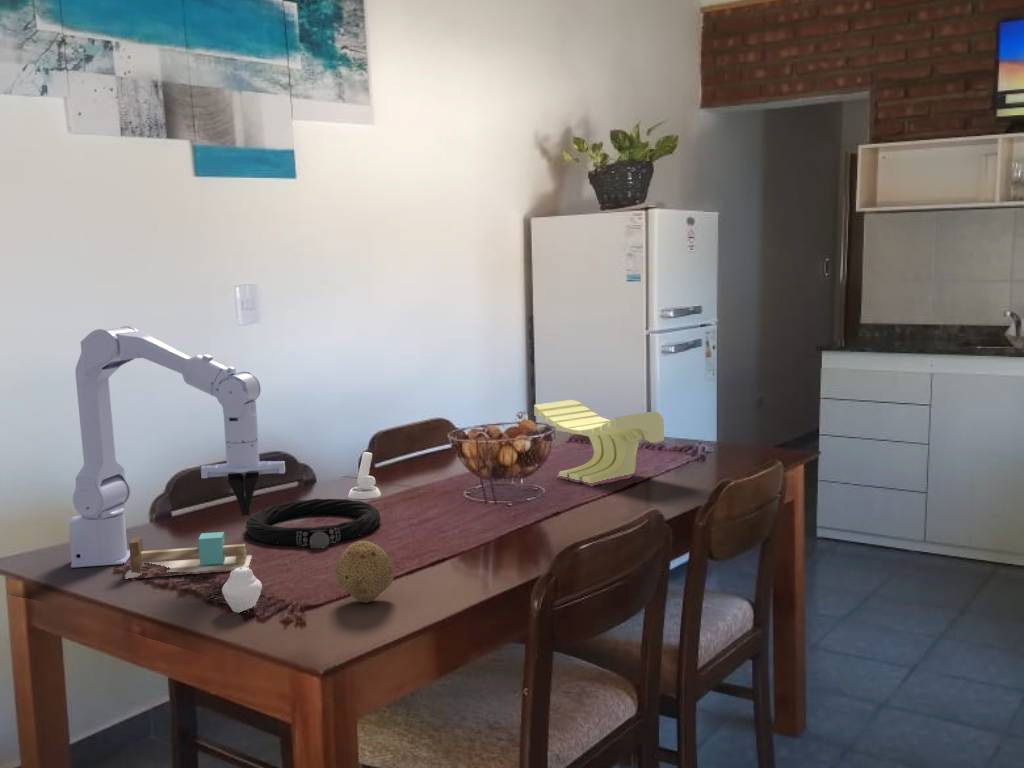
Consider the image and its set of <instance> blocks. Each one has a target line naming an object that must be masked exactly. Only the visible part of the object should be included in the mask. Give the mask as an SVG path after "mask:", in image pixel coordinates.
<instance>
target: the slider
mask: <svg viewBox="0 0 1024 768" xmlns="http://www.w3.org/2000/svg"><path fill="white" fill-rule="evenodd" d="M197 541H198V547H199V556H200V557H199V559H200V565H209V564H222V563H224V560H225V558H226V557H227V555H223V545H226V544H225V531H218V532H205V533H203V532H201V534H199V537H198V540H197Z"/></svg>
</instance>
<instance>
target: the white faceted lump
mask: <svg viewBox="0 0 1024 768" xmlns="http://www.w3.org/2000/svg"><path fill="white" fill-rule="evenodd" d="M256 577H257V576H255V575H254V572H253V570H252V569H251V568H250V567H249V568H247V567H239V568H236V569H234V570H232V571H231V572H229V577H228V579H227V581H225V583H224V584H223V586H222V588H221V593H222V595H223V596H224V599H225V601H226V602H227V604H228V606H229V607H230V608H231V610H232V611H233V612H234V613H237V614H238V613H239V614H241V613H240V612H242V611H244V610H247V609H249V608H252V607H253V606H255V607H256V605H257V602H258V601H259V598H260V596H261V592H262V590H263V585H262V581H260V580H259V579H258V578H256Z"/></svg>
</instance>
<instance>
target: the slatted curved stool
mask: <svg viewBox="0 0 1024 768" xmlns="http://www.w3.org/2000/svg"><path fill="white" fill-rule="evenodd" d="M533 411H534V412H533V413H534V414H533V415H534V417H541V418H540V420H541V421H542V422H548V427H549V426H550V427H555V431H557V432H563V433H568V434H573V435H574V434H575V435H580V436H583V437H584V436H585V437H588V438H589V440H590V442H591V445H592V448H593V456H592V458H591V459H590V460H589V461H587V462H586V463H584V464H581V465H579V466H577V467H572V468H570V469H565V470H561V471H560V470H559V472H558V475H557V477H558V476H563V477H569V478H571V479H575V480H582V481H584V482H588V483H594V482H598V481H602V480H606V479H611V478H615V477H619V476H624V475H629V474H633V473H634V474H635V470H636V462H637V461H636V460H637V454H638V453H637V452H638V450H639V449H638V448H639V445H640V440H645V441H647V442H649V443H650V444H652V443H656V442H663V441H665V425H664V422H665V421H664V419H663V416H662V415H661V414H660V413H659V412H658V411H654V410H653V411H649V412H642V413H641V412H640V413H635V414H629V415H622V416H617V417H614V418H613V419H608V418H605V417H602V416H600V415H599V414H598V413H596V412H594V411H592V410H591V409H590V408H588V407H586V406H584V404H583V403H582V402H580V401H577V400H575V399H567V400H558V401H552V402H545V403H538V404H533Z"/></svg>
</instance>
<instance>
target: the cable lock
mask: <svg viewBox="0 0 1024 768" xmlns="http://www.w3.org/2000/svg"><path fill="white" fill-rule="evenodd" d="M322 514H323V515H324V514H326V515H337V514H341V515H340V516H351V515H353V516H352V517H355V516H356V517H355V518H356V519H353V520H348V521H345V522H341V523H338V524H330V525H329V524H328V525H321V526H315V527H311V526H310V527H307V526H306V527H287V526H286V527H285V526H276V525H275V526H274V525H270V524H273V523H275V522H279V521H284V520H288V519H292V518H298V517H308V516H315V515H317V516H318V515H319V516H320V515H321V516H322ZM324 516H325V515H324ZM357 517H358V518H357ZM380 521H381V514H380V511H379V509H377V508H376V507H374V506H373V505H371V504H370V503H366V502H364V501H362V500H361V501H360V500H353V499H352V500H351V499H348V498H346V499H345V498H326V499H325V498H313V499H308V500H307V499H303V500H299V499H298V500H295V501H290V502H286V503H279V504H273V505H270V506H268V507H265V508H262V509H259V510H258V511H257V512H254V513H252V514H250V517H249V518H247V519H246V525H245V527H244V529H245V530H247V531H246V533H247V534H248V535H249V536H250V537H251V538H252V539H253V540H256V541H259V540H261V541H264V542H263V543H265V542H267V543H266V544H271V543H273V544H272V545H277V543H278V544H285V545H284V546H297V545H300V546H302V545H304V546H303V547H305V546H307V547H312V548H311V549H313V548H322V547H326V548H327V546H330V544H329V543H333V544H335V543H334V542H337V541H338V542H339V541H340V540H343V541H346V540H345V539H347V540H349V539H348V538H352V537H356V536H359V535H362V536H364V535H365V533H366V534H367V533H370V532H372V531H373V530H374V529H375V528H377V527H378V526H379V524H380ZM371 530H372V531H371ZM369 531H370V532H369ZM363 534H364V535H363ZM359 537H360V536H359ZM356 538H357V537H356ZM352 539H353V538H352ZM261 541H260V542H261ZM338 542H337V543H338ZM340 542H341V541H340ZM340 542H339V543H340ZM309 544H310V545H309ZM308 545H309V546H308ZM300 546H299V547H300Z"/></svg>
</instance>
